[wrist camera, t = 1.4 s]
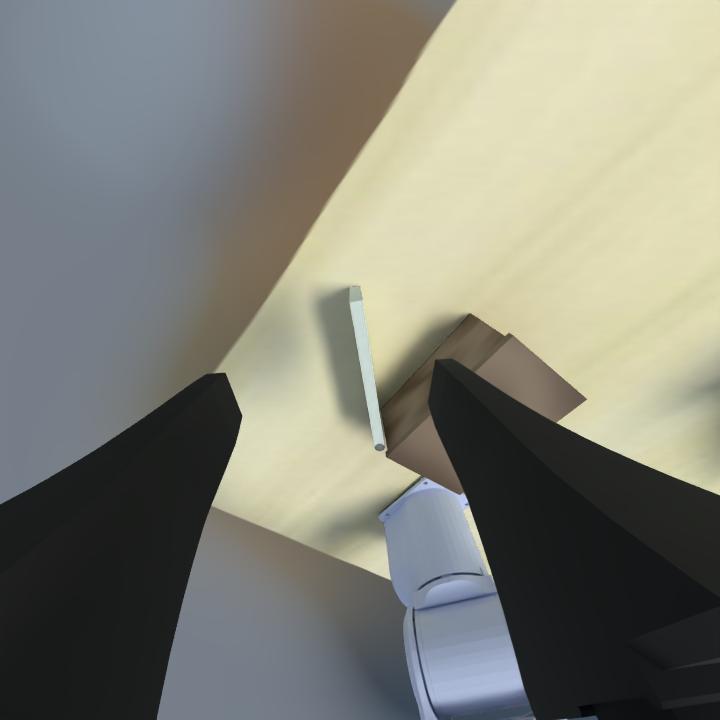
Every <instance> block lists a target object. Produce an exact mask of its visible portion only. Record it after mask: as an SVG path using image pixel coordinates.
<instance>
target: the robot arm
mask: <svg viewBox="0 0 720 720" xmlns="http://www.w3.org/2000/svg"><path fill="white" fill-rule="evenodd" d="M428 406H429V409H430V412H431V416H432V419H433V422H434V425H435V428H436V430H437V433H438V435H439V437H440V440H441V442H442V444H443V446H444V448H445V451H446V453H447V455H448V457H449V459H450V462H451V464H452V466H453V468H454V470H455V473H456V475H457V477H458V479H459V481H460V484H461V486H462V488H463V491H464V493H465V494H464V493H462V494H461V495H458V494H456V493H454V492H452V491H450V490H448V489H446V488H445V487H443V486H441V485H439V484H437V483H435V482H433V481H431V480H429V479H427V478H425V477H424V478H422V479H421V480H420V481H419V482H418V483H416V484H415V485H414V486H413V487H412V488H410V489H409V490H408V491H407V492H406V493H405V494H403V495H402V496H401V497H400V498H399V499H397V500H396V501H395V502H394V503H393V504H392V505H390V506H389V507H388V508H387V509H386V510H384V511H383V512H382V513H381V514H380V515H379V516H378V518H379V520H380V521H382V522H384V527H385V536H386V544H387V553H388V561H389V570H390V576H391V580H392V583H393V586H394V589H395V591H396V593H397V595H398V597H399V599H400V600H401V601H402V603H403V604H404V605H405V606H406V607H407V608H408V609H407V613H406V616H405V618H404V626H403V628H404V642H405V651H406V657H407V664H408V669H409V674H410V678H411V683H412V686H413V690H414V694H415V697H416V700H417V702H418V706H419V711H420V716H421V720H453V719H452V718H451V717H454V716H460V715H467V714H473V713H480V712H487V711H493V710H499V709H506V708H512V707H519V706H524V705H530V706H531V709H532V711H531V712H530V713H528V714H526V715H524V716H520V717H513V718H507V719H500V720H567V719H572V718H582V717H588V716H595V715H596V716H597V718H598V720H720V495H717V494H715V493H712V492H710V491H707V490H705V489H702V488H700V487H697V486H695V485H692V484H689V483H687V482H684V481H682V480H679V479H677V478H674V477H672V476H669V475H667V474H664V473H662V472H660V471H657V470H655V469H653V468H650V467H648V466H645V465H643V464H641V463H638V462H636V461H634V460H632V459H630V458H627V457H625V456H623V455H621V454H618V453H616V452H614V451H612V450H609V449H607V448H605V447H603V446H601V445H599V444H597V443H595V442H592V441H590V440H588V439H586V438H584V437H582V436H580V435H578V434H576V433H574V432H572V431H571V430H569V429H567V428H565V427H563V426H561V425H559V424H557V423H555V422H553V421H551V420H550V419H548V418H546V417H544V416H542V415H541V414H539V413H537V412H536V411H534V410H532V409H530V408H529V407H527V406H525V405H524V404H522V403H520V402H519V401H517V400H515V399H514V398H512V397H511V396H509V395H507V394H506V393H504V392H503V391H501V390H500V389H498V388H497V387H495V386H494V385H492V384H491V383H489V382H488V381H486V380H485V379H483V378H482V377H480V376H479V375H477V374H476V373H474V372H473V371H471V370H470V369H468V368H467V367H465V366H464V365H462V364H461V363H459V362H457V361H456V360H454V359H452V358H450V359H435V363H434V369H433V375H432V380H431V386H430V392H429V397H428ZM241 420H242V414H241V411H240V409H239V406H238V404H237V401H236V399H235V396H234V393H233V391H232V388H231V386H230V383H229V381H228V378H227V376H226V373H214V374H206V375H204V376H203V377H201V378H200V379H198V380H196V381H195V382H193V383H192V384H191V385H189V386H188V387H186V388H185V389H184V390H182V391H181V392H179V393H178V394H176V395H175V396H174V397H172V398H171V399H169V400H168V401H167V402H165V403H164V404H162V405H161V406H160V407H158V408H157V409H155V410H154V411H153V412H151V413H150V414H148V415H147V416H146V417H145V418H143V419H141V420H140V421H138V422H137V423H135V424H134V425H132V426H131V427H130V428H128V429H126V430H125V431H123V432H122V433H120V434H119V435H117V436H116V437H114V438H113V439H111V440H110V441H108V442H107V443H105V444H104V445H102V446H101V447H99V448H98V449H96V450H95V451H93V452H91V453H90V454H88V455H87V456H85V457H83V458H82V459H80V460H78V461H77V462H75V463H73V464H72V465H70V466H68V467H67V468H65V469H63V470H62V471H60V472H58V473H56V474H55V475H53V476H51V477H50V478H48V479H46V480H44V481H43V482H41V483H39V484H37V485H36V486H34V487H32V488H31V489H29V490H27V491H25V492H23V493H21V494H19V495H17V496H15V497H13V498H12V499H10V500H8V501H6V502H4V503H2V504H0V720H157V714H158V709H159V704H160V699H161V695H162V690H163V685H164V680H165V675H166V671H167V666H168V661H169V656H170V652H171V647H172V643H173V639H174V635H175V631H176V627H177V622H178V618H179V614H180V610H181V606H182V602H183V598H184V594H185V590H186V587H187V583H188V579H189V575H190V572H191V568H192V564H193V560H194V557H195V554H196V550H197V547H198V543H199V540H200V537H201V533H202V530H203V527H204V524H205V521H206V518H207V515H208V512H209V510H210V507H211V505H212V502H213V500H214V497H215V495H216V492H217V490H218V487H219V485H220V482H221V480H222V477H223V475H224V472H225V470H226V467H227V465H228V462H229V460H230V457H231V454H232V452H233V449H234V447H235V444H236V440H237V437H238V433H239V429H240V424H241ZM469 506H470V509H471V512H472V515H473V518H474V521H475V523H476V526H477V529H478V532H479V535H480V538H481V541H482V544H483V548H484V551H485V554H486V557H487V560H488V563H489V566H490V569H491V573H492V576H493V579H494V581H493V579H492V576H491V575H489V574H488V571H487V569H486V566H485V564H484V561H483V559H482V557H481V554H480V552H479V549H478V547H477V544H476V542H475V539H474V537H473V534H472V532H471V529H470V527H469V525H468V522H467V520H466V517H465V515H464V512H463V510H464V509H466V508H467V507H469ZM494 583H495V584H494Z"/></svg>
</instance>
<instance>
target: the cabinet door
mask: <svg viewBox="0 0 720 720" xmlns="http://www.w3.org/2000/svg"><path fill="white" fill-rule="evenodd" d="M349 303H350V308H351V314H352V320H353V326H354V331H355V337H356V343H357V349H358V354H359V360H360V366H361V372H362V377H363V383H364V389H365V395H366V400H367V406H368V412H369V418H370V423H371V429H372V435H373V441H374V446H375V449H376V450H377V451H382V450H383V449H384V448H385V446H384V439H383V433H382V426H381V419H380V413H379V406H378V399H377V393H376V386H375V379H374V373H373V366H372V359H371V353H370V346H369V339H368V332H367V326H366V319H365V312H364V306H363V299H362V294H361V289H360V286H355V287H350V294H349Z"/></svg>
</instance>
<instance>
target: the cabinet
mask: <svg viewBox="0 0 720 720" xmlns="http://www.w3.org/2000/svg"><path fill="white" fill-rule="evenodd" d="M450 358H452V359H454V360H456V361H457V362H459V363H461V364H462V365H464V366H465V367H467V368H468V369H470V370H471V371H473V372H474V373H476V374H477V375H479V376H480V377H482V378H483V379H485V380H486V381H488V382H489V383H491V384H492V385H494V386H495V387H497V388H498V389H500V390H501V391H503V392H504V393H506V394H507V395H509V396H511V397H512V398H514V399H515V400H517V401H519V402H520V403H522V404H524V405H525V406H527V407H529V408H530V409H532V410H534V411H536V412H537V413H539V414H541V415H542V416H544V417H546V418H548V419H550V420H551V421H553V422H555V423H556V422H558V421H559V420H560V419H562V418H563V417H564V416H566V415H567V414H568V413H570V412H571V411H572V410H574V409H575V408H576V407H578V406H579V405H580V404H582V403H583V402H584V401H586V400H587V399H586V398H585V397H584V396H583V395H582V394H580V393H579V392H578V391H577V390H576V389H575V388H573V387H572V386H571V385H570V384H569V383H568V382H567V381H565V380H564V379H563V378H562V377H561V376H560V375H558V374H557V373H556V372H555V371H554V370H553V369H551V368H550V367H549V366H548V365H547V364H546V363H544V362H543V361H542V360H541V359H540V358H539V357H538V356H536V355H535V354H534V353H533V352H532V351H531V350H529V349H528V348H527V347H526V346H525V345H524V344H522V343H521V342H520V341H519V340H518V339H517V338H515V337H514V336H513V335H511V334H510V333H508V334H507V335H506V336H504V335H502V334H501V333H499V332H498V331H496V330H495V329H493V328H492V327H490V326H489V325H487V324H486V323H484V322H483V321H481V320H480V319H478V318H477V317H475V316H474V315H472V314H470V315H469V316H468V317H467V318H466V319H465V320H464V321H463V322H462V323H461V324H460V325H459V326H458V328H457V329H456V330H455V331H454V332H453V333H452V334H451V335H450V336H449V337H448V338H447V339H446V340H445V341H444V343H443V344H442V345H441V346H440V347H439V348H438V349H437V350H436V351H435V352H434V353H433V354H432V355H431V356H430V358H429V359H428V360H427V361H426V362H425V363H424V364H423V365H422V366H421V367H420V368H419V369H418V370H417V371H416V373H415V374H414V375H413V376H412V377H411V378H410V379H409V380H408V381H407V382H406V383H405V384H404V385H403V386H402V388H401V389H400V390H399V391H398V392H397V393H396V394H395V395H394V396H393V397H392V398H391V399H390V400H389V401H388V403H387V404H386V405H385V406H384V407H383V408H382V409H381V414H382V420H383V425H384V431H385V437H386V443H387V448H388V450H387V451H386V452H385V453H386V457H387V458H389V459H391V460H393V461H395V462H396V463H398V464H400V465H402V466H404V467H406V468H408V469H410V470H412V471H414V472H416V473H418V474H420V475H421V476H423V477H425V478H427V479H429V480H431V481H433V482H435V483H437V484H439V485H441V486H443V487H445V488H446V489H448V490H450V491H452V492H454V493H456V494H458V495H461V494H462V493H463V492H464V491H463V488H462V486H461V484H460V481H459V479H458V477H457V475H456V473H455V470H454V468H453V466H452V464H451V462H450V459H449V457H448V455H447V453H446V451H445V448H444V446H443V444H442V442H441V440H440V437H439V435H438V433H437V430H436V428H435V425H434V422H433V419H432V416H431V412H430V409H429V406H428V397H429V392H430V386H431V380H432V375H433V369H434V363H435V359H450Z"/></svg>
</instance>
